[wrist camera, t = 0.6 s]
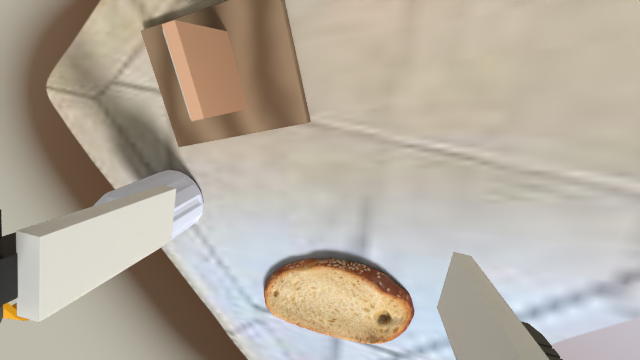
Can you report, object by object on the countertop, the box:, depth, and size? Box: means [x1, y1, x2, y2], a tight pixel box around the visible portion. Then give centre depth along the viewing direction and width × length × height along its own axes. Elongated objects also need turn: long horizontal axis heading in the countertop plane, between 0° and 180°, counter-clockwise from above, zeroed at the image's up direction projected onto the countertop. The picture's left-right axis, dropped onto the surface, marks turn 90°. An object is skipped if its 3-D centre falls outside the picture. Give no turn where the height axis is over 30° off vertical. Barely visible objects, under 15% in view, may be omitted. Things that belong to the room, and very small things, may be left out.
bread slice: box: [264, 258, 414, 344], centre depth 45 cm, size 18×18×4 cm
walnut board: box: [141, 0, 310, 147], centre depth 40 cm, size 19×15×1 cm
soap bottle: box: [3, 170, 204, 321], centre depth 37 cm, size 9×9×25 cm
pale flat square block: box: [162, 20, 247, 121], centre depth 35 cm, size 2×9×9 cm, turn 13°
